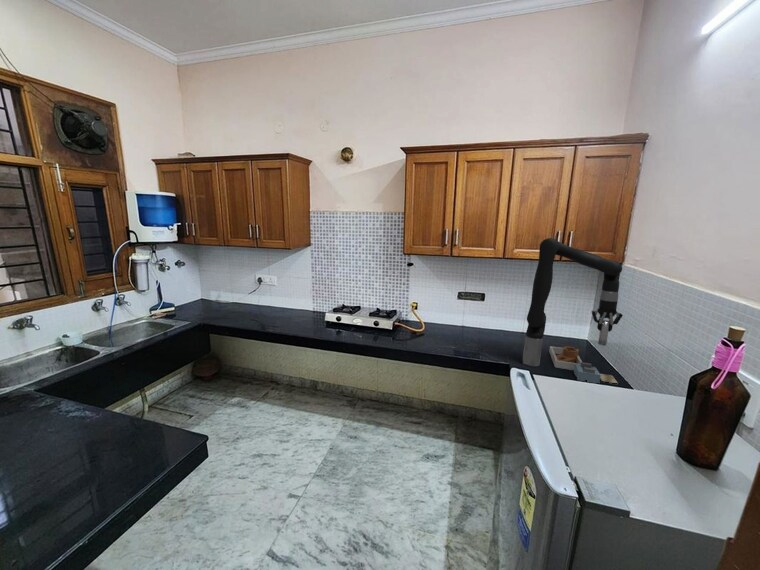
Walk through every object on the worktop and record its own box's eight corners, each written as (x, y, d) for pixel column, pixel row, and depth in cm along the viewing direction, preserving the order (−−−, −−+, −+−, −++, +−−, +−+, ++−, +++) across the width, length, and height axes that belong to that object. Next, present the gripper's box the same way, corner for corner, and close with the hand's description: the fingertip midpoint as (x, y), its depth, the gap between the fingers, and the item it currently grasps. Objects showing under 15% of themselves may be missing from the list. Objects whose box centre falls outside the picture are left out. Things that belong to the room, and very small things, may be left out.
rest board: (602, 381, 168) (602, 380, 168) (597, 374, 177) (597, 373, 176) (617, 384, 166) (617, 383, 166) (612, 376, 174) (612, 375, 174)
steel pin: (599, 345, 167) (602, 321, 164) (597, 342, 170) (600, 319, 168) (607, 345, 165) (610, 322, 163) (605, 343, 169) (608, 320, 166)
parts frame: (554, 367, 185) (555, 360, 184) (549, 351, 207) (549, 346, 206) (583, 371, 180) (584, 365, 179) (574, 355, 202) (575, 349, 201)
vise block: (577, 380, 170) (579, 368, 168) (573, 372, 179) (575, 360, 178) (599, 383, 166) (601, 371, 165) (594, 375, 175) (596, 363, 174)
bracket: (567, 355, 201) (568, 345, 200) (580, 360, 194) (581, 349, 193) (549, 361, 193) (550, 351, 191) (563, 366, 185) (564, 355, 184)
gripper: (594, 299, 162) (590, 331, 165) (627, 302, 157) (622, 334, 160) (591, 296, 169) (587, 327, 172) (622, 298, 164) (618, 330, 167)
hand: (604, 330), depth 166 cm, fingers closed on steel pin, 3 cm apart
